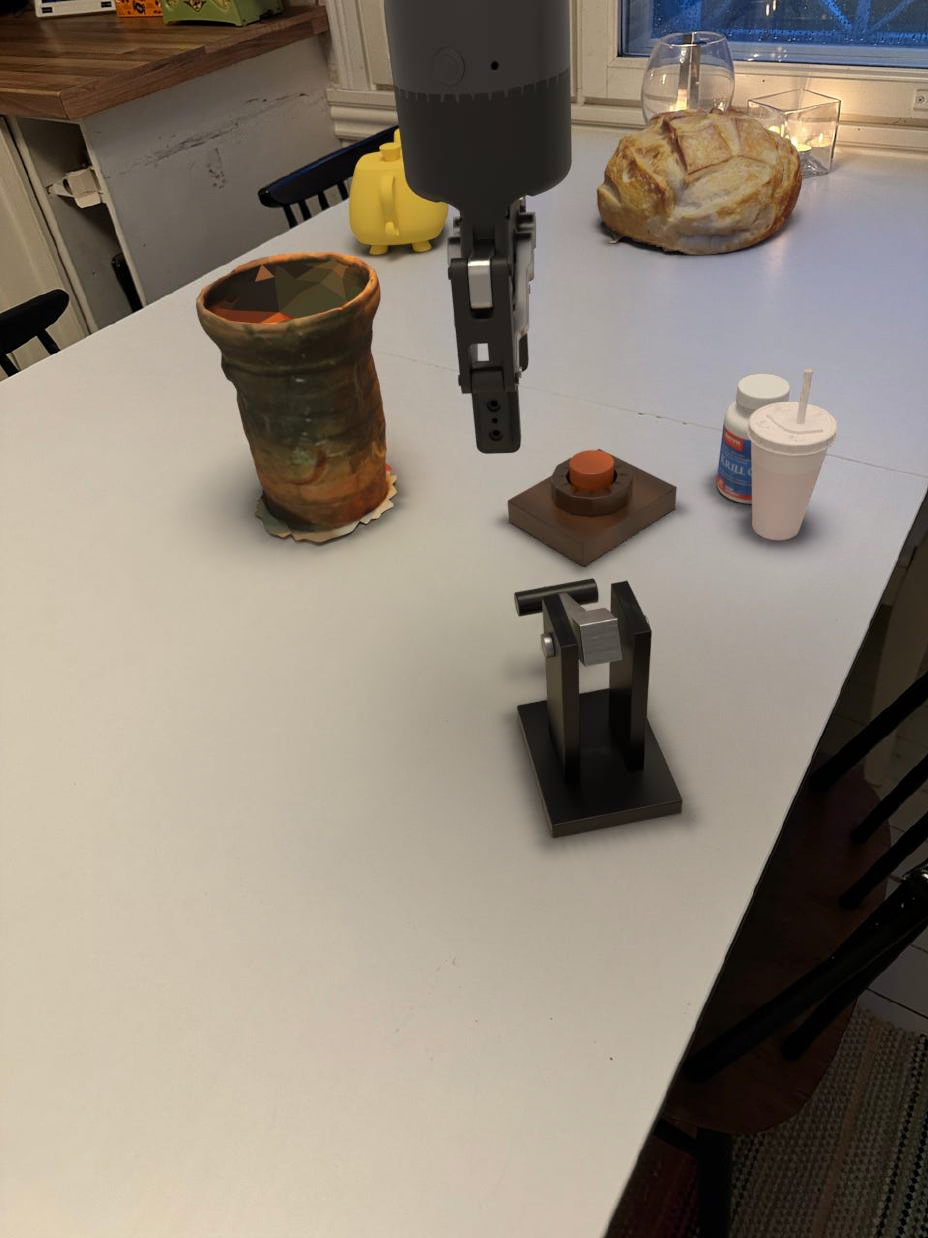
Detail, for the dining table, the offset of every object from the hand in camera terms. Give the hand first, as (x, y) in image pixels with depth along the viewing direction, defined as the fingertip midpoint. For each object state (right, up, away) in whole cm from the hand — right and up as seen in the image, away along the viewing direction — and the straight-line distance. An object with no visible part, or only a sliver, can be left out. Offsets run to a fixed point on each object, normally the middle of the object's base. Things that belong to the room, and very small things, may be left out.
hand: (504, 407), depth 50 cm
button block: (+9, -2, +29) cm, 31 cm away
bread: (+29, +43, +78) cm, 93 cm away
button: (+8, 0, +27) cm, 28 cm away
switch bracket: (+6, -20, +10) cm, 23 cm away
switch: (+5, -12, +8) cm, 15 cm away
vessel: (-14, 0, +35) cm, 38 cm away
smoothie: (+23, -4, +26) cm, 35 cm away
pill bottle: (+22, 0, +30) cm, 38 cm away
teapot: (-11, +43, +83) cm, 95 cm away
